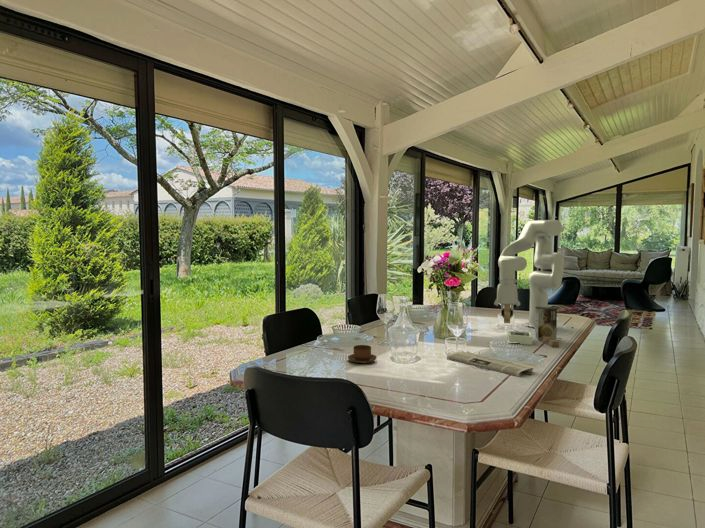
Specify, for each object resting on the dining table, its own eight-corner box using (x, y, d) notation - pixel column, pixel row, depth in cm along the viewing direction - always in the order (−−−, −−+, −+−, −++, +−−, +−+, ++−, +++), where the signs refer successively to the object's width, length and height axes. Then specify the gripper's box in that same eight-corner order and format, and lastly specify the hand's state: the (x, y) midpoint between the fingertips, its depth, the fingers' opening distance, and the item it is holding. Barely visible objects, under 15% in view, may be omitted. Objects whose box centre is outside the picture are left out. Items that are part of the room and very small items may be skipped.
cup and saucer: (343, 359, 214) (343, 345, 213) (369, 356, 218) (369, 342, 218) (354, 366, 203) (354, 351, 202) (381, 363, 207) (381, 348, 207)
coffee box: (552, 338, 255) (553, 306, 253) (556, 340, 248) (557, 308, 247) (534, 337, 256) (535, 306, 254) (537, 340, 249) (538, 308, 248)
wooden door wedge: (542, 342, 247) (542, 336, 247) (548, 342, 247) (548, 336, 247) (552, 348, 235) (552, 341, 235) (558, 348, 235) (559, 341, 235)
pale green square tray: (507, 338, 253) (507, 330, 252) (529, 339, 250) (530, 332, 250) (508, 343, 242) (509, 335, 242) (531, 344, 240) (532, 336, 240)
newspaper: (446, 359, 214) (446, 351, 214) (464, 355, 223) (464, 347, 222) (521, 378, 188) (522, 369, 188) (538, 372, 196) (539, 363, 196)
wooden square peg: (503, 321, 261) (504, 299, 259) (509, 321, 260) (510, 299, 258) (504, 323, 258) (504, 300, 256) (510, 323, 257) (510, 300, 256)
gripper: (523, 280, 258) (523, 316, 260) (490, 280, 262) (490, 315, 264) (524, 283, 251) (524, 319, 253) (490, 282, 255) (490, 318, 257)
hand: (507, 316), depth 258 cm, fingers closed on wooden square peg, 3 cm apart
